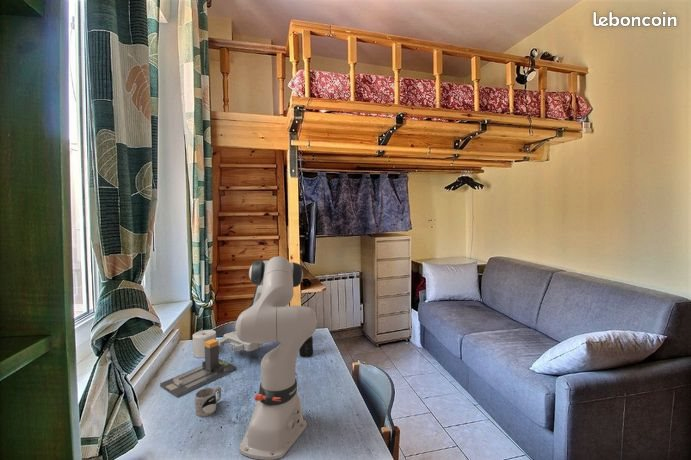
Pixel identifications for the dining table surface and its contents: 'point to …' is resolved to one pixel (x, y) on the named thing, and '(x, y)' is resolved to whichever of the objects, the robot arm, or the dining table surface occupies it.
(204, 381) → the breaker panel
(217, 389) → the mug
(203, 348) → the toilet tissue
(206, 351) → the breaker handle
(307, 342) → the supplement bottle
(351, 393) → the dining table surface
